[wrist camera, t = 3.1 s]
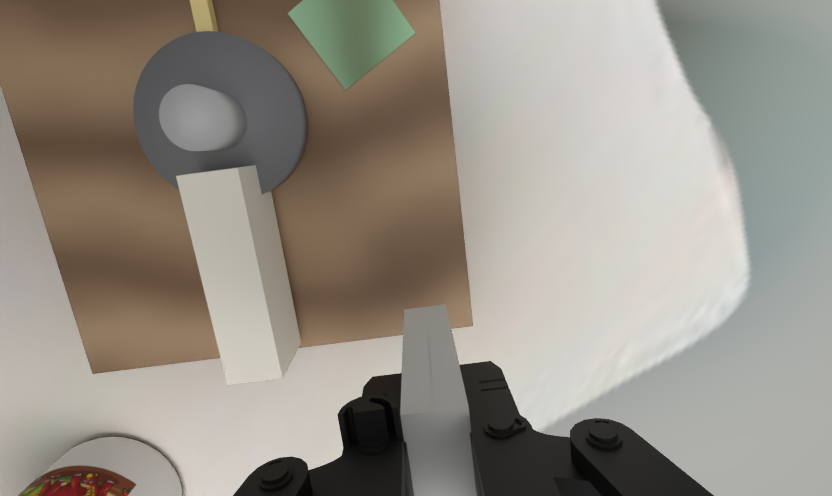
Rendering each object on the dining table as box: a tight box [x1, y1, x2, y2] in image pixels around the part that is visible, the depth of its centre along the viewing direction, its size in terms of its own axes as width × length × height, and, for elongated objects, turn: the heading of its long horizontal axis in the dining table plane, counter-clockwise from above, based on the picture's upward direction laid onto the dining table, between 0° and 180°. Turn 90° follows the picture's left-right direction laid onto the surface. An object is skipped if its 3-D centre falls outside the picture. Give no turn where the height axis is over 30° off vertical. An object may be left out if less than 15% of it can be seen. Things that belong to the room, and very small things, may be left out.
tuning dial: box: [133, 0, 308, 385], centre depth 19 cm, size 20×7×4 cm, turn 7°
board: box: [0, 0, 473, 374], centre depth 22 cm, size 22×20×2 cm
